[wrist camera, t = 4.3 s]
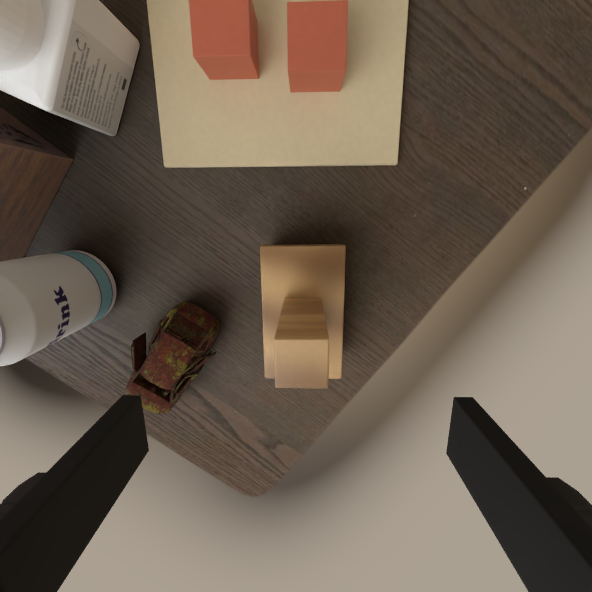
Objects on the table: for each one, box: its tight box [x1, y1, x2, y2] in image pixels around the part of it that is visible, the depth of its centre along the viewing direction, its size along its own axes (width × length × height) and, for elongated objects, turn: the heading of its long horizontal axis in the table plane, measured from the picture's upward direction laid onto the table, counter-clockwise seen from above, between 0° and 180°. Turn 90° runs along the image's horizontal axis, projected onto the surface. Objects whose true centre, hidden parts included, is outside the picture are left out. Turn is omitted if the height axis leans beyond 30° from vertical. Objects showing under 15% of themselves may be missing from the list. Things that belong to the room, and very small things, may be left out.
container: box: [0, 0, 140, 136], centre depth 20 cm, size 8×8×13 cm
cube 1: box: [189, 0, 259, 80], centre depth 23 cm, size 4×4×4 cm
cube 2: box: [287, 0, 348, 92], centre depth 23 cm, size 4×4×4 cm
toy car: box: [126, 301, 220, 413], centre depth 30 cm, size 12×7×5 cm, turn 147°
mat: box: [147, 0, 409, 168], centre depth 25 cm, size 20×16×1 cm
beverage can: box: [0, 250, 116, 366], centre depth 25 cm, size 7×7×12 cm
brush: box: [260, 244, 346, 388], centre depth 25 cm, size 12×7×13 cm, turn 0°
